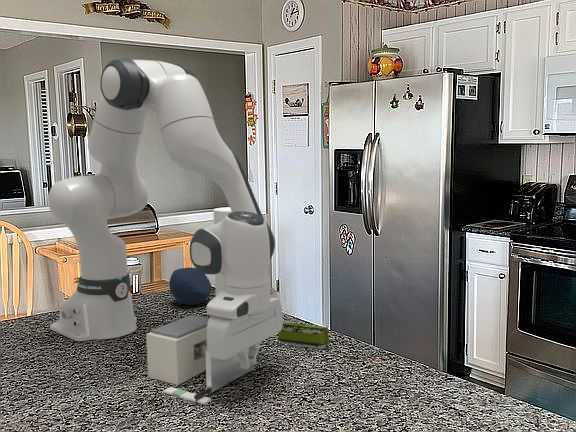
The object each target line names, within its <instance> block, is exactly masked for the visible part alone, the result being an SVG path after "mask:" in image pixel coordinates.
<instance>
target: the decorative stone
mask: <svg viewBox="0 0 576 432" xmlns="http://www.w3.org/2000/svg"><path fill="white" fill-rule="evenodd" d="M212 288H213V287H212V283H211V281H210V279H209V278H208V276H207V274H203V273H202V272H200V271H199V270H198V269H197V268H196V267H182V268H178V269H175V270H173V272H172V273H171V275H170V279H169V289H170V293H171V294H172V296H173V298H174V299H175V300H176V301H177V302H179V303H181V304H183V305H186V306H194V305H198V304H200V303H203V302H204V301H206V300H207V299H208V298H209V296H210V294H211V293H212V291H213V290H212Z"/></svg>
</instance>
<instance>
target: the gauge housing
mask: <svg viewBox="0 0 576 432" xmlns="http://www.w3.org/2000/svg"><path fill="white" fill-rule="evenodd" d="M209 318H210V317H204V316H200V315H199V316H198V315H194V314H190V315H187V316H185V317H182V318H180V319H177V320H174V321H172V322H170V323H167V324H166V323H165V324H164V325H161V326H158V327H156V328H154V329H151V331H150V332H148V333H146V334H145V335H146V336H145V337H146V359H147V360H146V362H147V363H146V364H147V377H148V378H151V379H154V380H157V381H161V382H164V383H168V384H172V385H176V386H179V385H181V384H183V383H185V382H186V381H188V379H189V380H191V379H193V378H195V377H197V376H199V375H200V374H199V373H201V372H203V371H205V370H206V357H202V356H198V355H194V345H195V344H197V343H200V344H204V345H207V323H208V320H209ZM205 372H206V371H205ZM203 373H204V372H203ZM198 374H199V375H198ZM201 374H202V373H201ZM196 375H197V376H196ZM194 376H195V377H194ZM192 377H193V378H192ZM190 378H191V379H190ZM162 392H163V393H164V394H167V395H171V396H172V397H176V398H180V399H184V400H187V401H190V402H195V403H197V404H202V405H207V404H208V403H209V402H211V401H212V398H211V397H207V396H205V395H204V396H202V397H200V398H199V399H194V395H196V394H197V393H193V392H189V391H187V390H184V389H181V388H177V387H172V386H170V387H167V388H165V389H164V390H163V391H162Z"/></svg>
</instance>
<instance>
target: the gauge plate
mask: <svg viewBox="0 0 576 432" xmlns="http://www.w3.org/2000/svg"><path fill="white" fill-rule="evenodd" d="M194 355H198V356H202V357H206V371H205V376H206V377H205V382H206V383H205V384H206V389H203V390H201V391H200V392H198V393H195V394H196V395H194V399H199V398H200V397H202V396H204V397H205V396H206V395H207V394H209V393H210V394H211V393H213V392H215V391H217V390H219V389H221V388H223V387H225V386H227V385H228V384H229V383H231V382H234V381H235V380H237V379H239V378H240V377H242V376H244V375H247V373H249V372H251V371H252V370H254V369H255V368H256V367H255V365H256V364H255V365H253V366H252V367H250V368H248V369H242V368H241V367H240V359H239V357H238V356H237V354H235V355H234V356H232V357H230V358H228V359H226V360H221V359H216V358H213V357H211V356H210V355H209V353H208V350H207V345H204V344H200V343H197V344H195V345H194Z"/></svg>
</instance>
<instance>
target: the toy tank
mask: <svg viewBox="0 0 576 432" xmlns="http://www.w3.org/2000/svg"><path fill="white" fill-rule="evenodd" d="M329 336H330V335H329V327H328V325H327V326H323V325H322V326H321V325H314V324H313V325H312V324H306V323H305V324H304V323H303V324H302V323H298V322H294V323H293V322H285V321H283V326H282V329H281V331H280V332H278V333H277V338H276V339H277V343H278V342H280V343H282V344H287V345H286V346H289V345H294V346H293V347H297V346H300V347H299V348H304V347H308V348H307V349H312V348H315V349H314V350H322V349H326V348H327V347H328V346H329V345H330V338H329ZM287 342H288V343H287ZM280 343H279V344H280ZM282 344H281V345H282ZM312 345H313V346H312ZM320 348H321V349H320Z"/></svg>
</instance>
